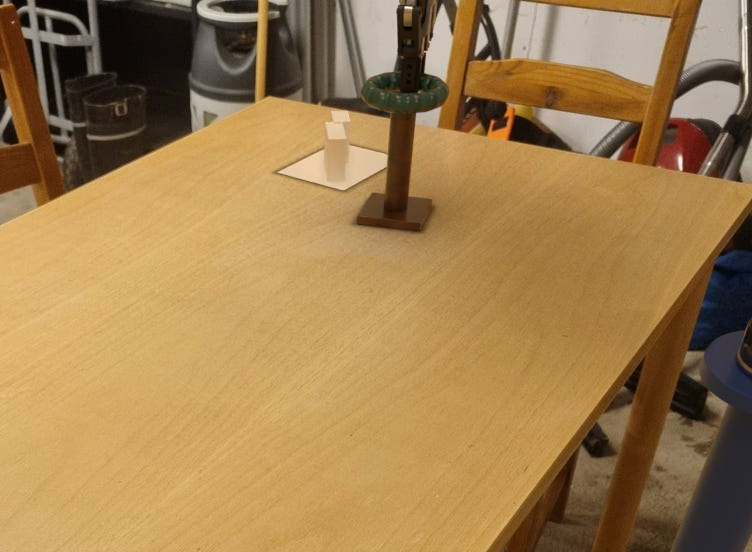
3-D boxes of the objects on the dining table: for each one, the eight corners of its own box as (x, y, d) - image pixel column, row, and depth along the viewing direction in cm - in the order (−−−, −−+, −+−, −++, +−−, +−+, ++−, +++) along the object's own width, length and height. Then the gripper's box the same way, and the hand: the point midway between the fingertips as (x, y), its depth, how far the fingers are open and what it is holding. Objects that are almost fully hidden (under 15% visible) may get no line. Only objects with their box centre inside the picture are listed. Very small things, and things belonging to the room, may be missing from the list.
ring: (453, 91, 111) (455, 72, 110) (439, 119, 104) (441, 99, 103) (371, 84, 113) (372, 66, 112) (352, 111, 107) (353, 92, 105)
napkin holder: (344, 191, 124) (346, 144, 120) (276, 172, 129) (276, 127, 124) (402, 157, 132) (406, 113, 128) (336, 141, 137) (338, 98, 133)
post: (431, 206, 120) (444, 94, 111) (419, 231, 115) (431, 115, 105) (371, 200, 122) (378, 88, 112) (356, 224, 116) (363, 109, 107)
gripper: (451, -78, 94) (431, 111, 106) (472, -101, 103) (452, 76, 115) (378, -82, 95) (367, 106, 108) (406, -103, 104) (392, 72, 117)
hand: (411, 90), depth 111 cm, fingers closed on ring, 2 cm apart
